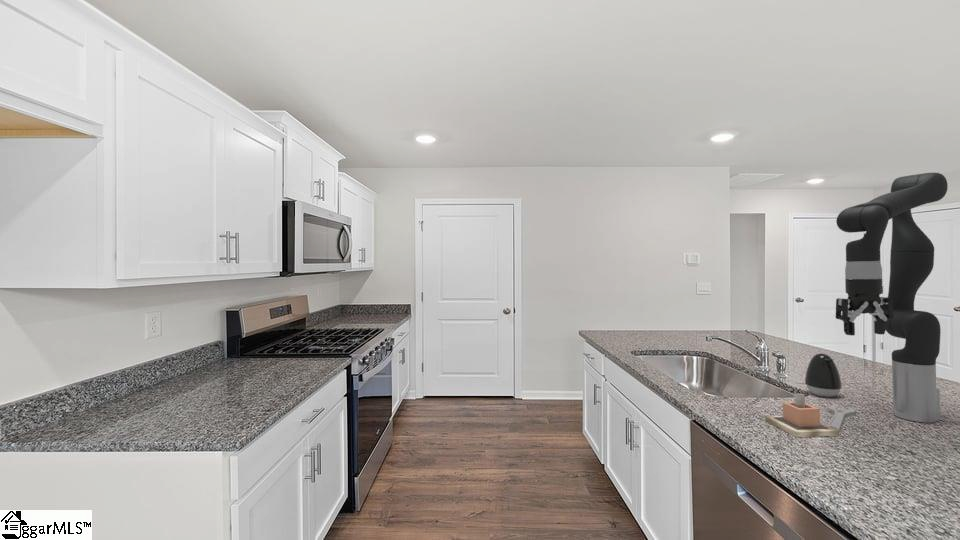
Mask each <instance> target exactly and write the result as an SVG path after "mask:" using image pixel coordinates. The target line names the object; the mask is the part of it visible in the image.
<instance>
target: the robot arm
mask: <svg viewBox="0 0 960 540" xmlns="http://www.w3.org/2000/svg"><path fill="white" fill-rule="evenodd" d="M947 192H948V181H947V178H946V177H945V175H943V174H942V173H940V172H924V173H918V174H912V175H910V174H909V175H903V176H900V177H896V178H895V179H894V180H893V181H892V183H891V186H890V192H887V193H885V194H882V195H879V196H877V197H875V198H874V199H871V200H869V201H867V202H864V203H860V204H857V205H856V204H855V205H853V206H849V207H847V208H844V209H842V211H840V213H839V214H838V215H837V216H836V226H837V227H838V229H839V230H840V231H842V232H845V233H850V234H851V233H862V232H863V233H864V232H865V234H864V235H863V237H861V238H860V239H855V240H852V241H849V242H847V243H846V244H845V245H846V246H845V269H844V270H845V271H844V275H845V278H844V280H845V282H844V283H845V294H847V298H841V297H838V298H836V299H835V319H836V320H840V321H842V322H843V332H844V334H845V335H847V336H855V334H856V331H855V330H856V327H855V324H856V323H855V322H854V321H855V320H856V319H857V317H859V316H861V314H868V315H870V316H872V318H873V319H874V320H873V323H874V325H873V326H874V327H873V329H874V333H875V334H877V335H885V334H886V332H887V333H888V335H890V336H891V337H894V338H899V339H904V340H905V343H904V347H903V348H900V349H895V350H893V351H891V375H892V376H891V379H892V380H891V381H892V383H891V384H892V385H891V387H892V388H891V389H892V414H893V416H895V417H898V418H899V419H900V418H901V419H903V420H908V421H912V422H917V423H919V422H920V423H927V424H928V423H931V424H932V423H937V422H938V421H941V399H940V396H941V394H940V389H939V388H938V387H937V368H936V367H937V364H936V363H937V359H938V357H939V355H940V352H941V351H940V347H941V334H942V333H941V331H942V330H941V323H940V321H939V319H938V317H937V316H936V315H934V314H933V313H932V312H929V311H925V310H924V311H923V310H915V299H916V295H917V292H918V290H919V289H920V288H921V286H922V285H923V284H924V282H925V281H926V280H928V278H929V276H930V275H931V273H932V271H933V269H934V264H935V246H934V244H933V242H932V240H931V239H930V238H929V237H928V236H927V234H925V232H924V231H923V230H922V229H921V228H920V227H919V226H918V224H916V222H915V220H914V218H913V214H912V209H914V208H917V207H921V206H923V205H926V204H931V203H932V204H933V203H936V202H939V201H941V200H942V199H943V198H944V197H945V196H946V194H947ZM890 220H891V224H892V225H891V241H890V242H891V243H890V244H891V246H890V257H889V259H890V260H889V264H890V265H889V282H888V293H887V297H886V296H881V295H882V294H883V267H882V263H881V244H882V241H883V238H884V235H885V232H886V230H887V227H888V224H889V221H890Z"/></svg>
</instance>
